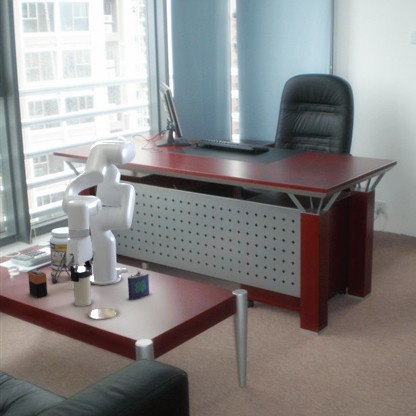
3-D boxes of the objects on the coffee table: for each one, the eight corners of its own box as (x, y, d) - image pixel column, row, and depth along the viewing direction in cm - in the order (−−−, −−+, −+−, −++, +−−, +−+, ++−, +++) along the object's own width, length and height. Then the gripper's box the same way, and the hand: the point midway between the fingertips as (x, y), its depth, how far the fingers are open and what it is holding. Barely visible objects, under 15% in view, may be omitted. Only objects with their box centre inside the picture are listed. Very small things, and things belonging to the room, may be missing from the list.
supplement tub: (46, 270, 293) (43, 232, 289) (60, 261, 305) (57, 225, 301) (72, 272, 291) (69, 234, 287) (85, 263, 303) (83, 227, 299)
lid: (68, 274, 254) (68, 268, 254) (86, 270, 259) (86, 265, 258) (76, 279, 249) (75, 273, 248) (94, 275, 253) (94, 269, 253)
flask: (147, 293, 268) (146, 267, 266) (151, 294, 266) (150, 269, 264) (127, 298, 262) (126, 272, 259) (131, 300, 260) (130, 274, 257)
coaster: (109, 307, 253) (109, 306, 253) (121, 315, 246) (121, 314, 245) (83, 313, 246) (83, 312, 246) (95, 321, 239) (95, 320, 239)
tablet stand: (50, 277, 284) (49, 258, 282) (70, 275, 287) (69, 256, 285) (52, 283, 276) (51, 264, 274) (72, 281, 279) (71, 262, 277)
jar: (87, 299, 261) (85, 267, 258) (94, 303, 256) (92, 271, 253) (72, 302, 257) (70, 270, 254) (78, 307, 252) (76, 274, 249)
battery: (37, 298, 260) (35, 273, 258) (29, 293, 265) (27, 269, 262) (48, 295, 263) (46, 271, 261) (39, 291, 268) (38, 267, 266)
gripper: (85, 226, 259) (87, 270, 263) (55, 237, 243) (58, 284, 247) (101, 228, 257) (103, 272, 261) (73, 240, 241) (75, 286, 245)
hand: (81, 277), depth 254 cm, fingers closed on lid, 7 cm apart
